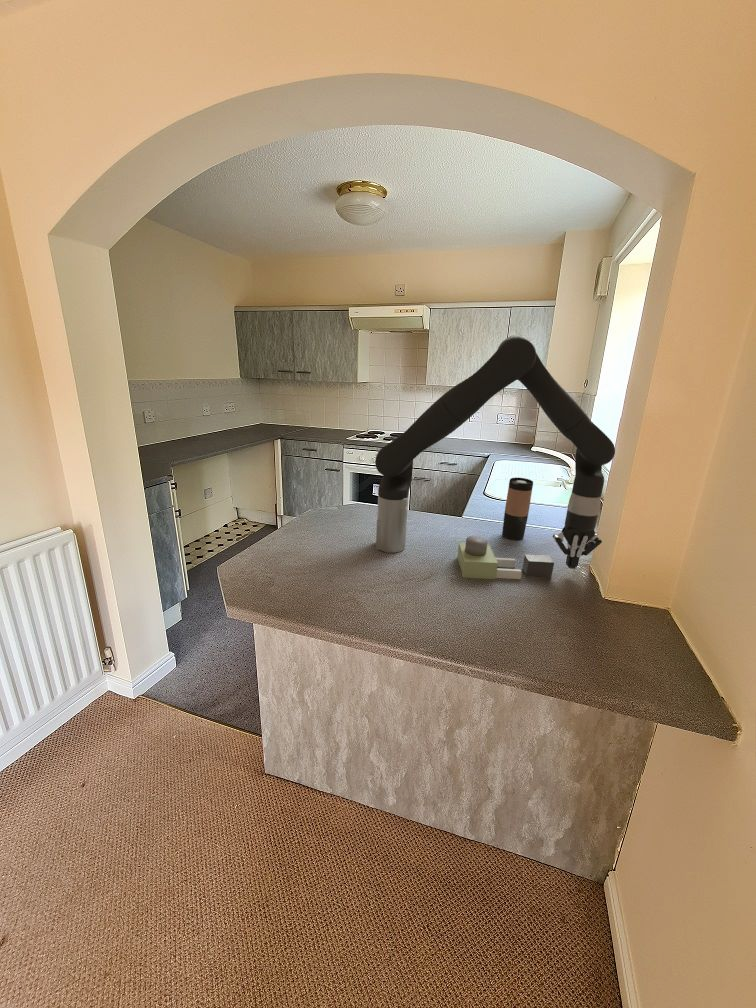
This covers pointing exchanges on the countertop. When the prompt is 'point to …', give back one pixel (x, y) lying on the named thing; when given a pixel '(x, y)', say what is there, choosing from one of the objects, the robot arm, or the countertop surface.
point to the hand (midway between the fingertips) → (571, 567)
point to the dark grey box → (538, 566)
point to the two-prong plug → (484, 561)
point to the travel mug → (517, 508)
